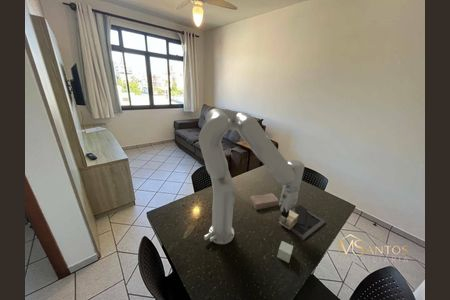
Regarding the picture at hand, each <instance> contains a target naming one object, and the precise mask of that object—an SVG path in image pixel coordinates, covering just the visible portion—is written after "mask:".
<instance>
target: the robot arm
mask: <svg viewBox="0 0 450 300" xmlns="http://www.w3.org/2000/svg"><path fill="white" fill-rule="evenodd" d="M205 121H206V122H205V124H204V125H202V128H201V130H200V132H199V135H198V144H199V147H200V150H201V151H200V152H201V155H202V158H203V160H204V165H205V166H204V167H205V169H206V172H207V173H208V175H209V176H210V180H211V186H212V195H213V196H212V211H211V213H212V214H211V215H212V216H211V218H212V219H211V226H210V228H209V229H208V233H207V234H205V235H203V239H204V240H205V241H207V240H208V239H209V241H210V242H212V243H215V244H217V245H226V244H229V243H230V242H232V240H233V239H234V238H235V229H234V228H233V213H234V201H235V198H236V191H237V190H236V186H235V182H234V181H233V178H232V176H231V173H230V170H229V164H228V160H227V158H226V155H225V152H224V146H223V144H222V140H223V137H224V136H225V135H226V134H227V133H228V131H236V132H237V133H238V134H239V136H240V137H241V139H242V140H243V141H244V142H245V144H247V146H248V148H250V150H251V151H252V152H253V154H254V155H255V156H256V157H257V159H258V160H259V161H260V162H262V163H263V165H264V166H265V167H266V168H267V170H268V171H269V173H270V174H271V176H273V178H275V180H276V181H277V182H278V183H279V184H281V185H282V186H281V187H282V189H281V190H282V191H281V194H280V198H279V204H278V206H279V207H280V210H279V211H281V213H280V217H281V216H283V217H285V218H287V217H288V216H289V210H292V208H293V207H295V205H296V204H297V202H298V197H299V191H300V188H301V184H302V179H303V175H304V171H305V164H304V163H303V162H302V161H301V160H297V159H290V160H287V159H285V157H284V156H283V155H282V154H281V152H280V151H279V150H278V147H276V145H275V144H274V143H273V142H272V141H271V139H270V137H269V136H268V135H267V133H266V131H265V130H264V129H263V128H262V126H261V125H260V123H259V122H258V120H257V119H256V118H255V117H253V116H252V114H251V115H250V114H248V113H247V112H244V111H243V112H242V111H239V110H237V111H236V110H230V109H223V108H217V107H216V108H213V109H212V108H211V110H209V111H208V112H207V114H206V116H205Z"/></svg>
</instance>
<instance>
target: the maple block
mask: <svg viewBox="0 0 450 300" xmlns="http://www.w3.org/2000/svg"><path fill="white" fill-rule="evenodd" d="M291 210H292V209H290V210H289V216H288V217H287V218H285V217H283V216H281V215H280V216H279V217H280V221H278V223H279V224H280V225H281V226H283V227H285V228H286V229H288V230H289V231H291V230H290V229H291V228H292V227H293V226H294V225H295V223H296V222H297V219H298V214H296V213H295V212H293V211H291Z"/></svg>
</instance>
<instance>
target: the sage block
mask: <svg viewBox="0 0 450 300" xmlns="http://www.w3.org/2000/svg"><path fill="white" fill-rule="evenodd" d="M293 249H294V245H293V244H289V243H288V242H286V241H283V240H281V242H280V245H279V248H278V251H277V256H276V258H279V260H282V261H284V262H287V263H288V264H290V260H291V257H292V254H293Z"/></svg>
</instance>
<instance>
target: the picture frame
mask: <svg viewBox="0 0 450 300" xmlns="http://www.w3.org/2000/svg"><path fill="white" fill-rule="evenodd" d="M290 210H291V211H293V212H295V213H296V214H298V219H297V222H296V223H295V225H294V226H293V227H292V228H291V229H290V230H289V231H291V232H292V233H293V234H295V235H296V236H297V237H298V238H300V239H301V240H302V241H304V240H306V239H307V238H308V237H310V236H311V235H312V234H313V233H314V232H315V231H317V230H318V229H320V228H321V227H322V226H323V225H325V224H326V221H325V220H324V219H322V218H321V217H319V216H318V215H315V214H314V213H312V211H309V210H308V209H307V208H306V207H304V206H303V205H301V204H299V205H297V206H296V207H295V206H294V208H293V209H290ZM280 217H281V216H279V217H278V218H277V221H278V222H280Z"/></svg>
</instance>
